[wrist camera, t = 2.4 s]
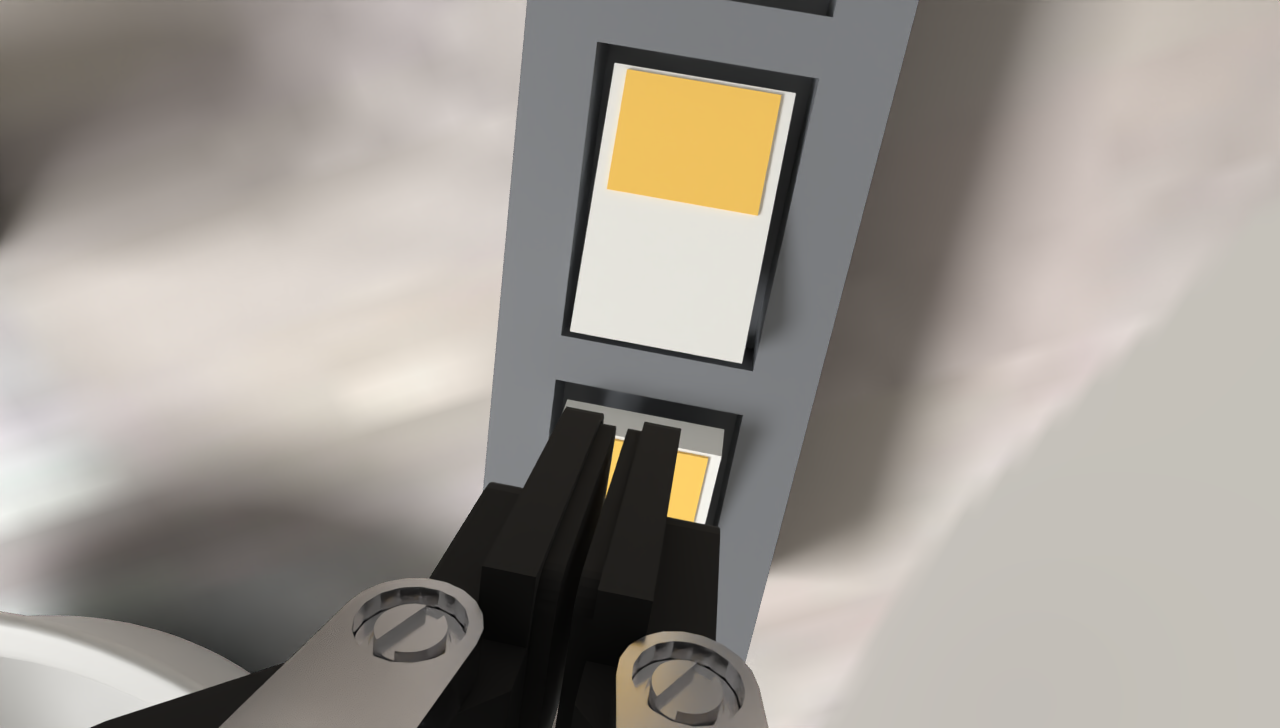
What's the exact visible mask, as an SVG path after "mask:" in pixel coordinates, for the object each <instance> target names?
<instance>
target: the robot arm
mask: <svg viewBox="0 0 1280 728" xmlns="http://www.w3.org/2000/svg"><path fill="white" fill-rule="evenodd" d="M603 423H604V414H603V413H598V412H593V411H588V410H583V409H578V408H572V407H567V406H566V408H565V409H564V411H563V413H562V415H561V417H560V419H559V421H558V423H557V424H556V426H555V428H554V430H553V432H552V434H551V436H550V438H549V440H548V441H547V443H546V445H545V447H544V449H543V451H542V453H541V455H540V457H539V459H538V460H537V462H536V464H535V466H534V468H533V470H532V472H531V474H530V476H529V478H528V479H527V481H526V483H525V485H524V487H523V488H521V487H516V486H511V485H506V484H501V483H496V482H490V483H489V484H488V485H487V486H486V488H485V489H484V491H483V493H482V494H481V496H480V497H479V499H478V501H477V502H476V504H475V505H474V507H473V509H472V510H471V512H470V513H469V515H468V517H467V518H466V520H465V522H464V523H463V525H462V526H461V528H460V530H459V531H458V533H457V534H456V536H455V538H454V539H453V541H452V543H451V544H450V546H449V547H448V549H447V551H446V552H445V554H444V555H443V557H442V559H441V560H440V562H439V564H438V565H437V567H436V568H435V570H434V572H433V573H432V575H431V576H430V578H429V579H428V578H403V579H398V580H392V581H387V582H383V583H380V584H378V585H375V586H373V587H370V588H368V589H366V590H364V591H362V592H361V593H359V594H358V595H357V596H355V597H354V598H353V599H351V600H350V601H348V602H347V603H346V604H345V605H344V606H343V607H342V608H341V609H340V610H339V611H338V612H337V613H336V614H335V615H334V616H333V617H332V618H331V619H330V620H329V621H328V622H327V623H326V624H325V625H324V626H323V627H322V628H321V629H320V630H319V631H318V632H317V633H316V634H315V635H313V636H312V637H311V638H310V639H309V640H308V641H307V642H306V643H305V644H304V645H303V646H302V647H301V648H300V649H299V650H298V651H297V652H296V653H295V654H294V655H293V656H292V657H291V658H290V659H289V660H288V661H287V662H286V663H283V664H280V665H277V666H273V667H270V668H267V669H264V670H261V671H258V672H255V673H252V674H249V675H246V676H243V677H240V678H237V679H233V680H230V681H227V682H224V683H221V684H218V685H215V686H212V687H209V688H206V689H203V690H200V691H197V692H193V693H190V694H187V695H184V696H181V697H178V698H175V699H172V700H169V701H166V702H163V703H160V704H157V705H153V706H150V707H147V708H144V709H141V710H138V711H135V712H132V713H129V714H126V715H123V716H120V717H116V718H113V719H110V720H107V721H104V722H102V723H100V724H97V725H95V726H93V727H90V728H552V725H553V721H554V718H555V714H556V711H557V708H558V704H559V708H558V714H557V721H556V727H555V728H768V723H767V719H766V715H765V710H764V706H763V702H762V697H761V693H760V688H759V686H758V684H757V681H756V679H755V677H754V674H753V672H752V671H751V669H750V668H749V667H748V666H747V665H746V664H745V662H744V661H743V660H742V659H741V658H740V657H739V656H738V655H737V654H735V653H734V652H733V651H731V650H730V649H728V648H727V647H726V646H724V645H723V644H721V643H718V642H716V627H717V603H718V579H719V555H720V527H716V526H711V525H706V524H701V523H696V522H691V521H686V520H681V519H676V518H671V517H667V514H668V508H669V501H670V495H671V489H672V483H673V477H674V471H675V465H676V459H677V453H678V447H679V441H680V435H681V428H676V427H670V426H665V425H660V424H655V423H650V422H644V425H643V428H642V431H639V430H634V429H627V432H626V435H625V439H624V442H623V445H622V448H621V451H620V454H619V457H618V461H617V464H616V467H615V470H614V473H613V476H612V479H611V483H610V486H609V489H608V492H607V485H608V479H609V473H610V467H611V461H612V454H613V448H614V442H615V435H616V426H613V425H608V424H603ZM606 492H607V495H606Z"/></svg>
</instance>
